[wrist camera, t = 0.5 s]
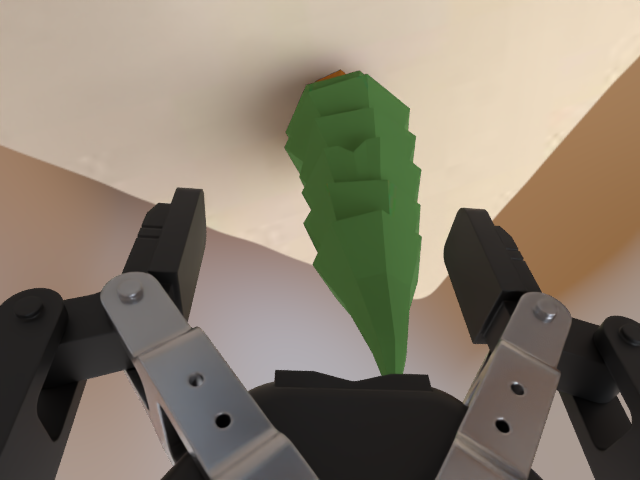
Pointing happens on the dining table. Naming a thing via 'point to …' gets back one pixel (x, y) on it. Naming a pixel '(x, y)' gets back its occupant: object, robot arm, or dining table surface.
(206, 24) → the dining table surface
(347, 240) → the decorative tree
